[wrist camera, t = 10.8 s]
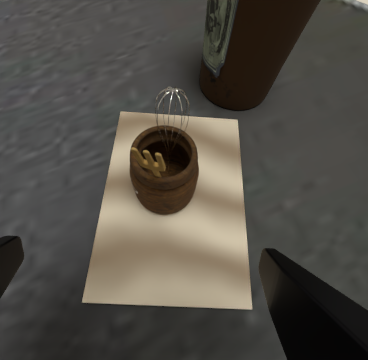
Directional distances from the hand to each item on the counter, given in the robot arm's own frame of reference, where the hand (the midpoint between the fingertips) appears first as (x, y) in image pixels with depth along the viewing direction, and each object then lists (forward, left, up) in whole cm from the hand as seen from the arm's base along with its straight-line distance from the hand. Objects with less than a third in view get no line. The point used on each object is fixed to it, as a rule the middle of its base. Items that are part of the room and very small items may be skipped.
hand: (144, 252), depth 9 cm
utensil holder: (+8, 0, -13) cm, 15 cm away
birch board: (+7, -1, -13) cm, 15 cm away
